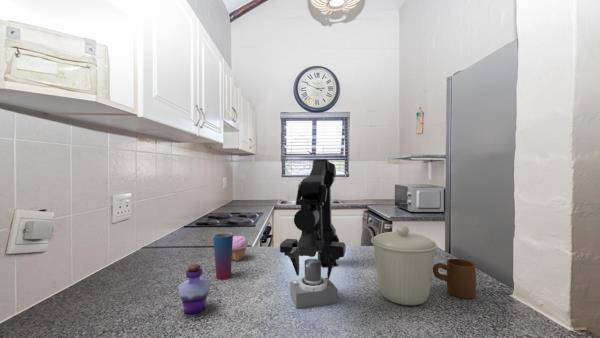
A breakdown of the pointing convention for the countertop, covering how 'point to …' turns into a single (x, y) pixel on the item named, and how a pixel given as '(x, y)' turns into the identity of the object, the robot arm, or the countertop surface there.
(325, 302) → the camera body
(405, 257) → the canister
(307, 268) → the lens
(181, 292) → the potion bottle
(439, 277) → the mug
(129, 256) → the countertop surface
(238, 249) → the cupcake
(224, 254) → the cup
